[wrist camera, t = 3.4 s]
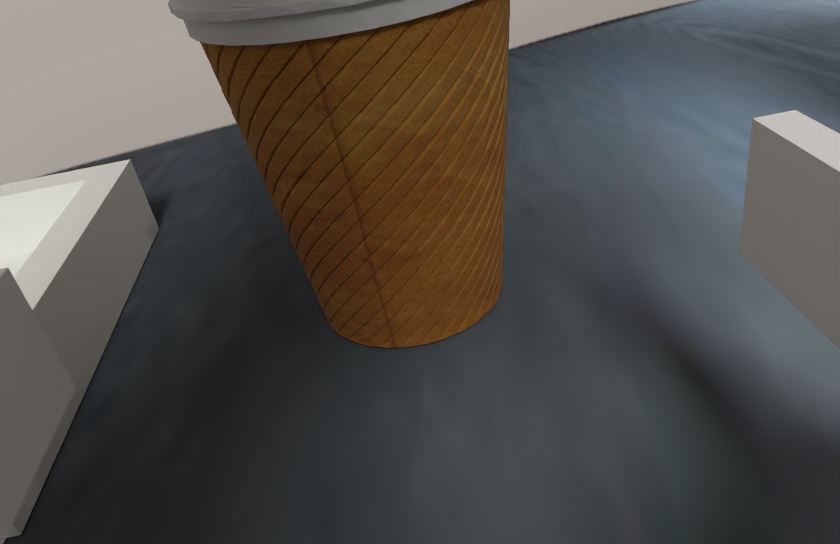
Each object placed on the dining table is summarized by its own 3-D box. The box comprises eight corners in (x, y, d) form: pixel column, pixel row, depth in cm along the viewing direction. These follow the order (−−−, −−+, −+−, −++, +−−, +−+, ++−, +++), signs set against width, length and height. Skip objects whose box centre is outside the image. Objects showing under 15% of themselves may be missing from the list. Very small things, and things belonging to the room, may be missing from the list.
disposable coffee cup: (388, 210, 30) (323, -100, 24) (596, 250, 25) (584, -137, 18) (222, 336, 24) (74, -37, 17) (451, 425, 18) (359, -65, 12)
